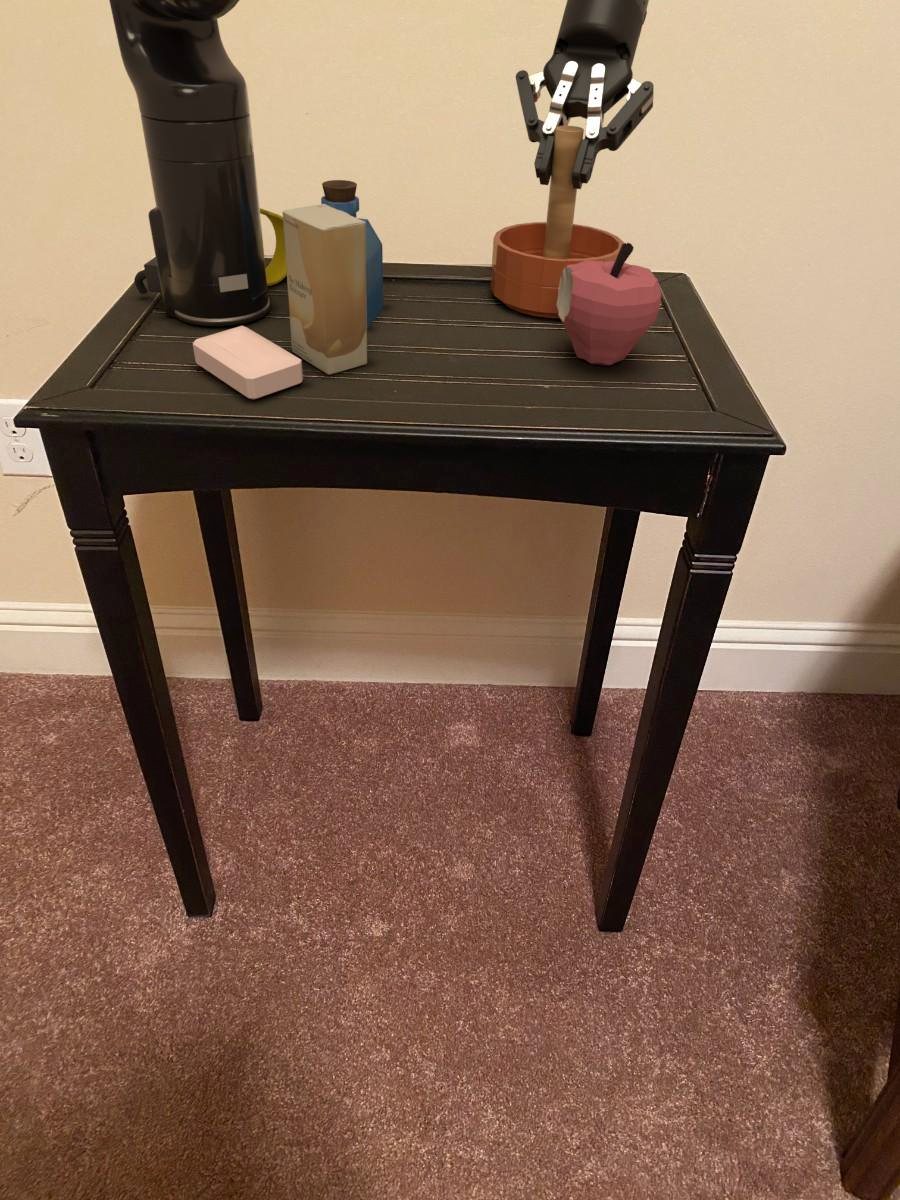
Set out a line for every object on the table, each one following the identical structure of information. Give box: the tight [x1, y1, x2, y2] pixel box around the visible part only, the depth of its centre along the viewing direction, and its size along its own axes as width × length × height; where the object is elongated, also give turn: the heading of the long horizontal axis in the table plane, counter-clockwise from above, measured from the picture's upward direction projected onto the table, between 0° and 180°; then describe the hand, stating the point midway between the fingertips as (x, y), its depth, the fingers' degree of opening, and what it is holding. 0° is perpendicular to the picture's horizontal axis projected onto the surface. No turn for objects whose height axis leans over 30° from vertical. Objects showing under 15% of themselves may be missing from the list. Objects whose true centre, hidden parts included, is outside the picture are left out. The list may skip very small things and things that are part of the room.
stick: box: [543, 125, 585, 259], centre depth 83 cm, size 4×4×14 cm
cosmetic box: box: [281, 203, 368, 376], centre depth 72 cm, size 6×4×12 cm
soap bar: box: [192, 325, 304, 401], centre depth 72 cm, size 5×9×2 cm, turn 43°
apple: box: [557, 242, 662, 367], centre depth 75 cm, size 10×9×10 cm
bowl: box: [490, 221, 625, 319], centre depth 88 cm, size 13×13×6 cm
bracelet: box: [259, 207, 287, 287], centre depth 89 cm, size 7×8×3 cm
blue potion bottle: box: [320, 179, 384, 329], centre depth 81 cm, size 6×6×12 cm
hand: (559, 181), depth 79 cm, fingers closed on stick, 2 cm apart
